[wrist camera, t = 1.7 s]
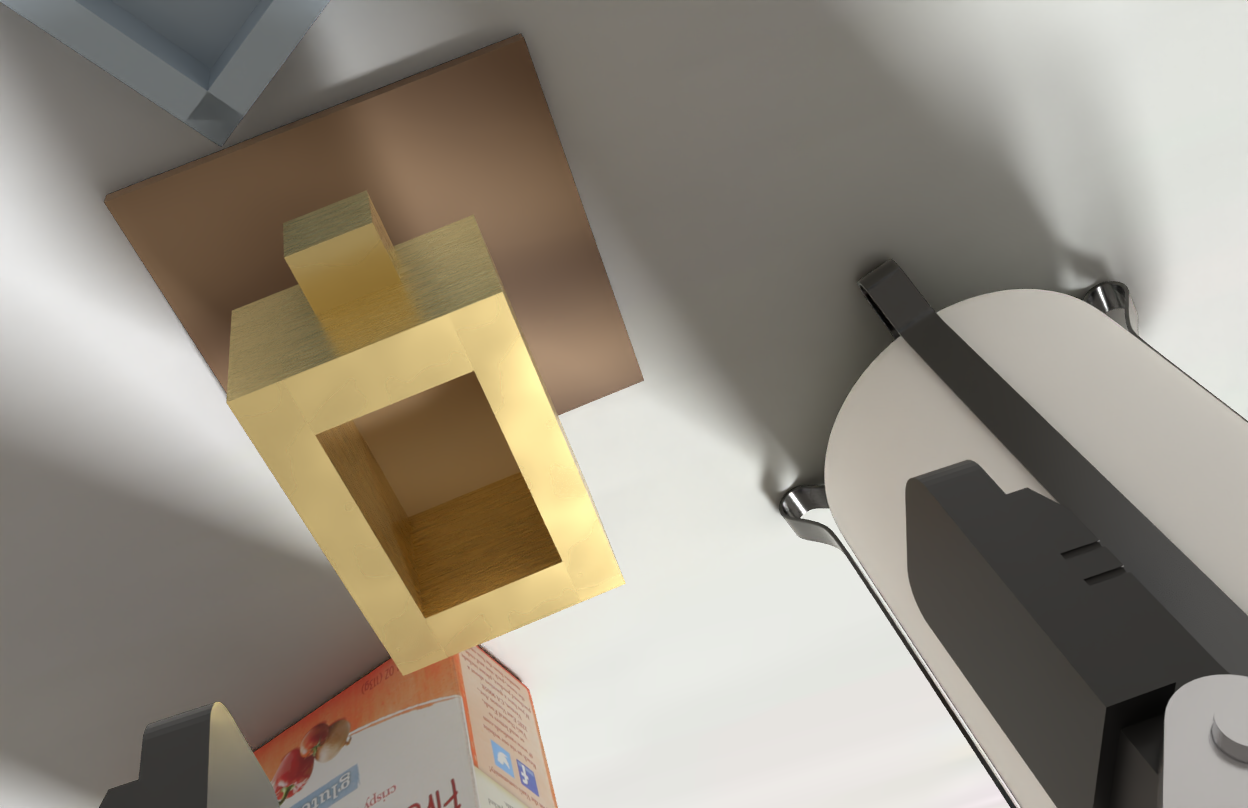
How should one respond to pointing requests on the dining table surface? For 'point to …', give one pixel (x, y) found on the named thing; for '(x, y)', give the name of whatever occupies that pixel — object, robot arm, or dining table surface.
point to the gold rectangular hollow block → (387, 373)
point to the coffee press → (1039, 463)
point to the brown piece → (408, 207)
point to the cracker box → (417, 742)
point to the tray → (183, 49)
